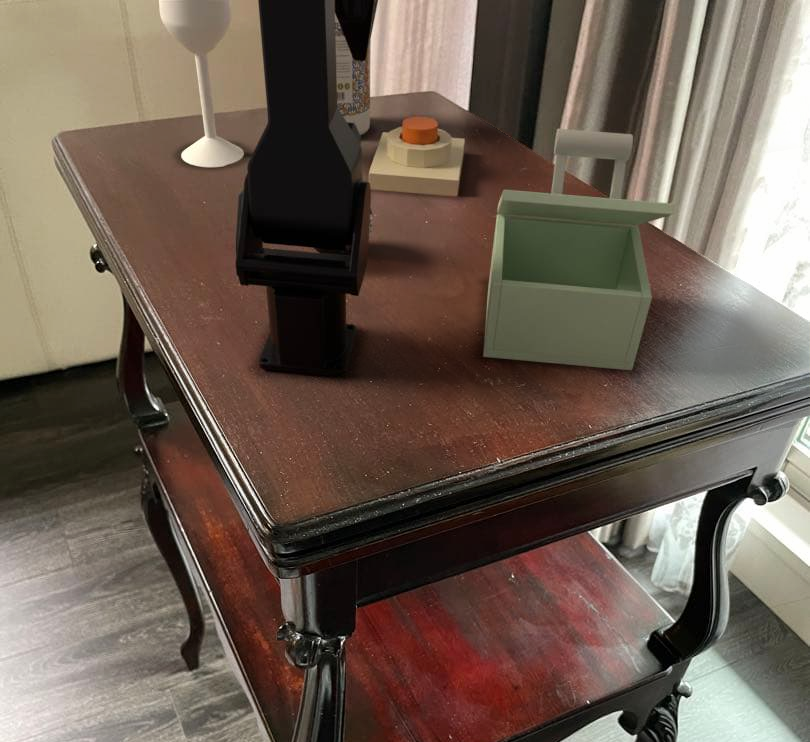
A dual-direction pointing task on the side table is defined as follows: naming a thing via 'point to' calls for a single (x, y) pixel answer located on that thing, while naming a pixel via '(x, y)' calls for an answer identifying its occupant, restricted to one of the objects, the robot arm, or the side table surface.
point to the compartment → (566, 292)
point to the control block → (417, 165)
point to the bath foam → (352, 83)
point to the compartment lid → (584, 206)
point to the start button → (419, 131)
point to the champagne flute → (202, 69)
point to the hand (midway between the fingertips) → (360, 59)
